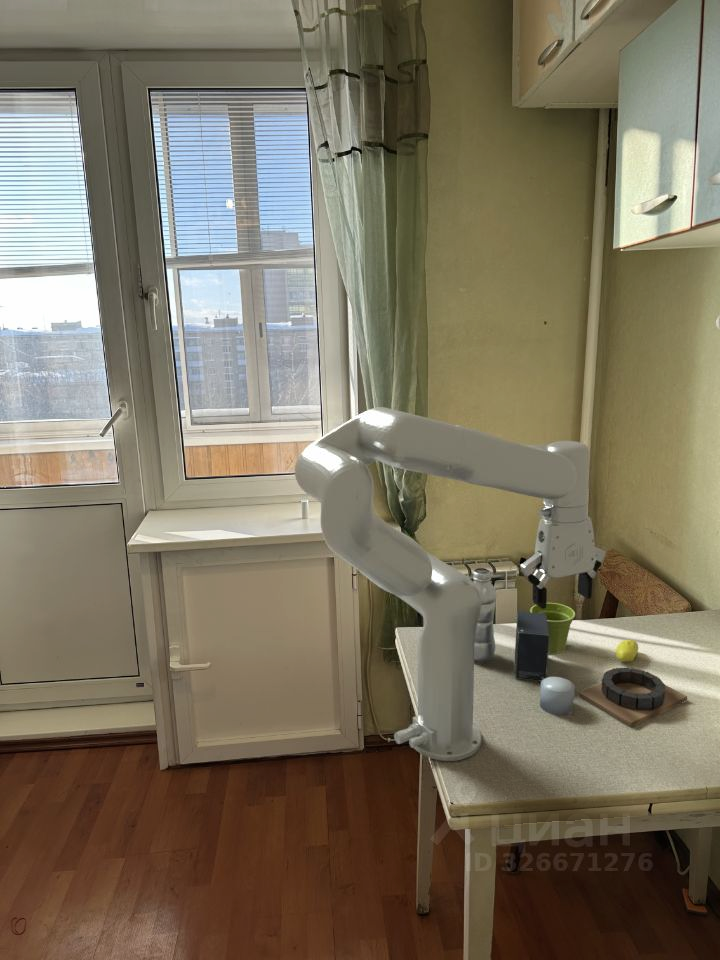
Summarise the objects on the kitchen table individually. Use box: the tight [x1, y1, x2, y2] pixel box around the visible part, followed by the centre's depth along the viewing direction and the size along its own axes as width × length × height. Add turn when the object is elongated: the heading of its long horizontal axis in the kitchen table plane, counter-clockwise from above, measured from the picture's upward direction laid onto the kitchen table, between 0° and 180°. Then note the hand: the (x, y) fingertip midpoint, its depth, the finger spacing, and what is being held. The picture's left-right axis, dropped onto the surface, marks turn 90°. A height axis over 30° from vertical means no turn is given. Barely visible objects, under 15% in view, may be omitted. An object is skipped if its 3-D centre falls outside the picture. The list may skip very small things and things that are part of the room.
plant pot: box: [529, 602, 576, 655], centre depth 150 cm, size 9×9×9 cm
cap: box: [539, 676, 575, 716], centre depth 129 cm, size 6×6×5 cm
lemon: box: [615, 639, 639, 662], centre depth 146 cm, size 4×8×4 cm, turn 140°
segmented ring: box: [601, 667, 667, 711], centre depth 131 cm, size 11×11×2 cm
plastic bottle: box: [472, 567, 498, 662], centre depth 145 cm, size 6×7×20 cm
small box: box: [514, 610, 549, 682], centre depth 142 cm, size 11×6×10 cm, turn 168°
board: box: [578, 682, 688, 729], centre depth 131 cm, size 16×12×1 cm
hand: (562, 600), depth 125 cm, fingers open, 9 cm apart
